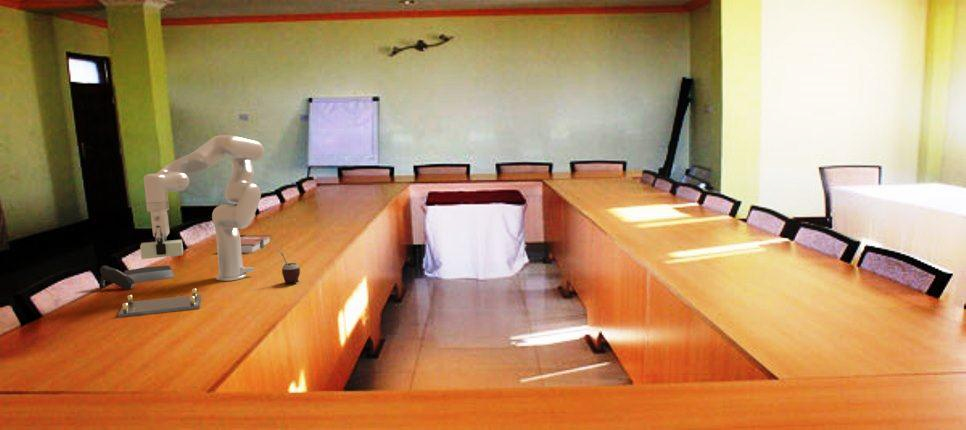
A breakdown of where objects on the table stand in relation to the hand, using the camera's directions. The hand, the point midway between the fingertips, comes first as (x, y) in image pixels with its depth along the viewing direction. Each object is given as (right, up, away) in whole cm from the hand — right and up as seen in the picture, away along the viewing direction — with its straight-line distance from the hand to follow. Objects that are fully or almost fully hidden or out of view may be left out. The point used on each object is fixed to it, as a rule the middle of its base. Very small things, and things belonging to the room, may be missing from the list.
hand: (162, 252), depth 244 cm
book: (-1, -4, +90) cm, 90 cm away
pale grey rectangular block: (0, -1, 0) cm, 1 cm away
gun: (-25, -16, +14) cm, 33 cm away
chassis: (+6, -19, -12) cm, 23 cm away
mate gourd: (+44, -14, +19) cm, 50 cm away
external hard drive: (-21, -14, +31) cm, 40 cm away
